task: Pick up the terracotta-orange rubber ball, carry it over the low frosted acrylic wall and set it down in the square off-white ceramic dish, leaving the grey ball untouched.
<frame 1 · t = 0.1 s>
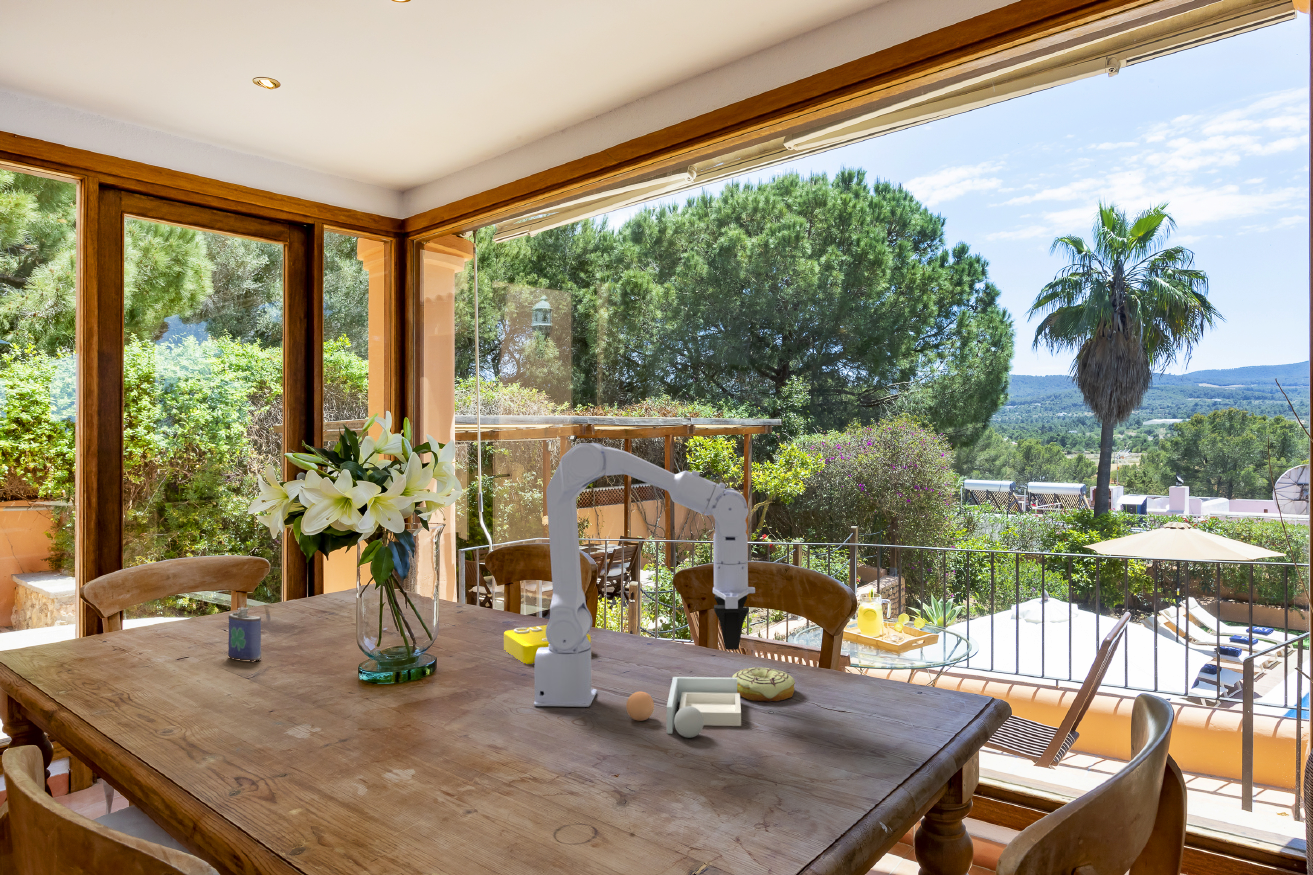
hand: (731, 642, 131), 10 cm above the table, tool pointing down, fingers open, 7 cm apart
decorated donut: (763, 695, 135), on the table
flask: (243, 659, 161), on the table
terracotta ball: (640, 719, 123), on the table
element tile: (547, 654, 164), on the table
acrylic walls: (672, 715, 125), resting in ceramic dish
ceramic dish: (710, 714, 125), on the table
grey ball: (689, 736, 116), on the table
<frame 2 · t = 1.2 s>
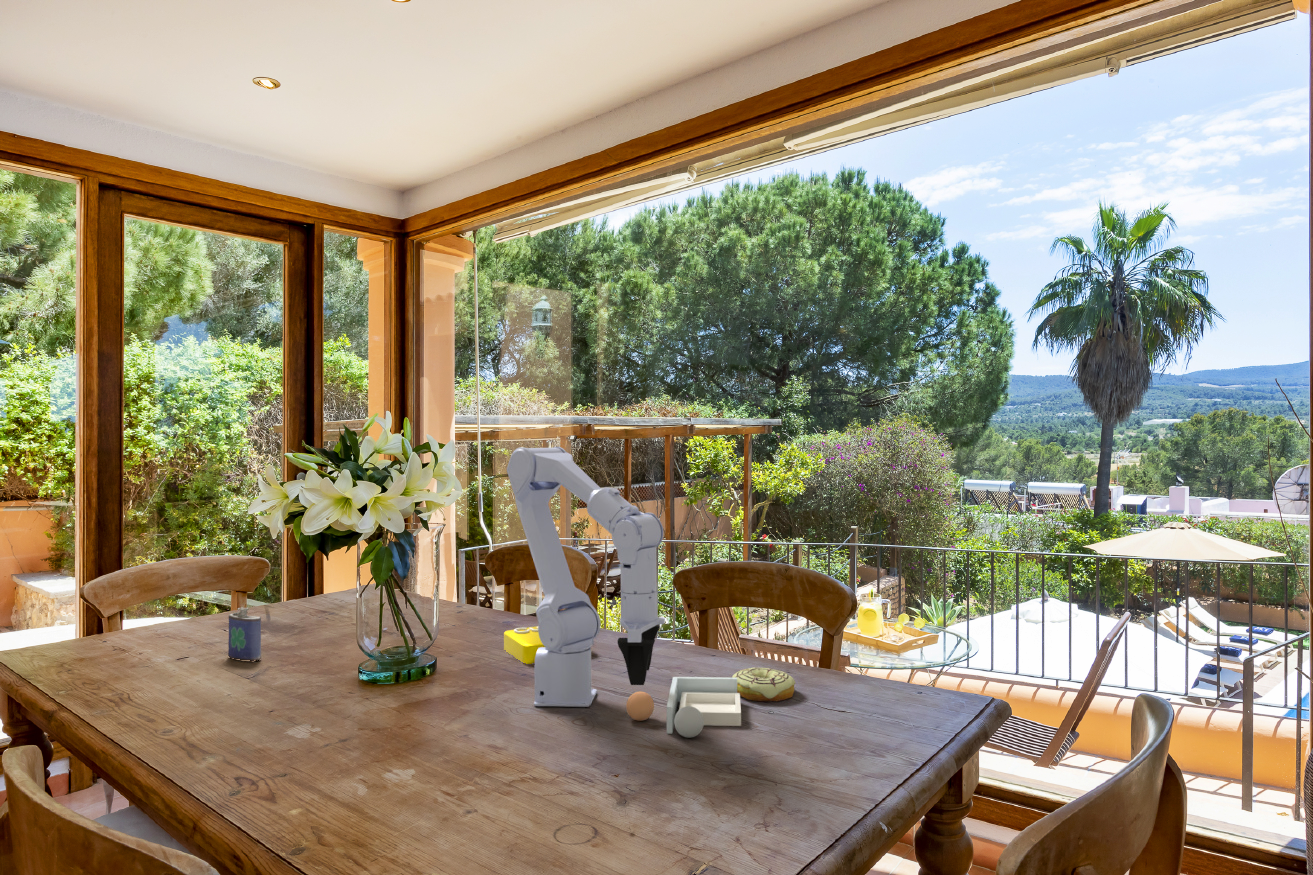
hand: (640, 676, 123), 7 cm above the table, tool pointing down, fingers open, 7 cm apart
nothing on the table moved.
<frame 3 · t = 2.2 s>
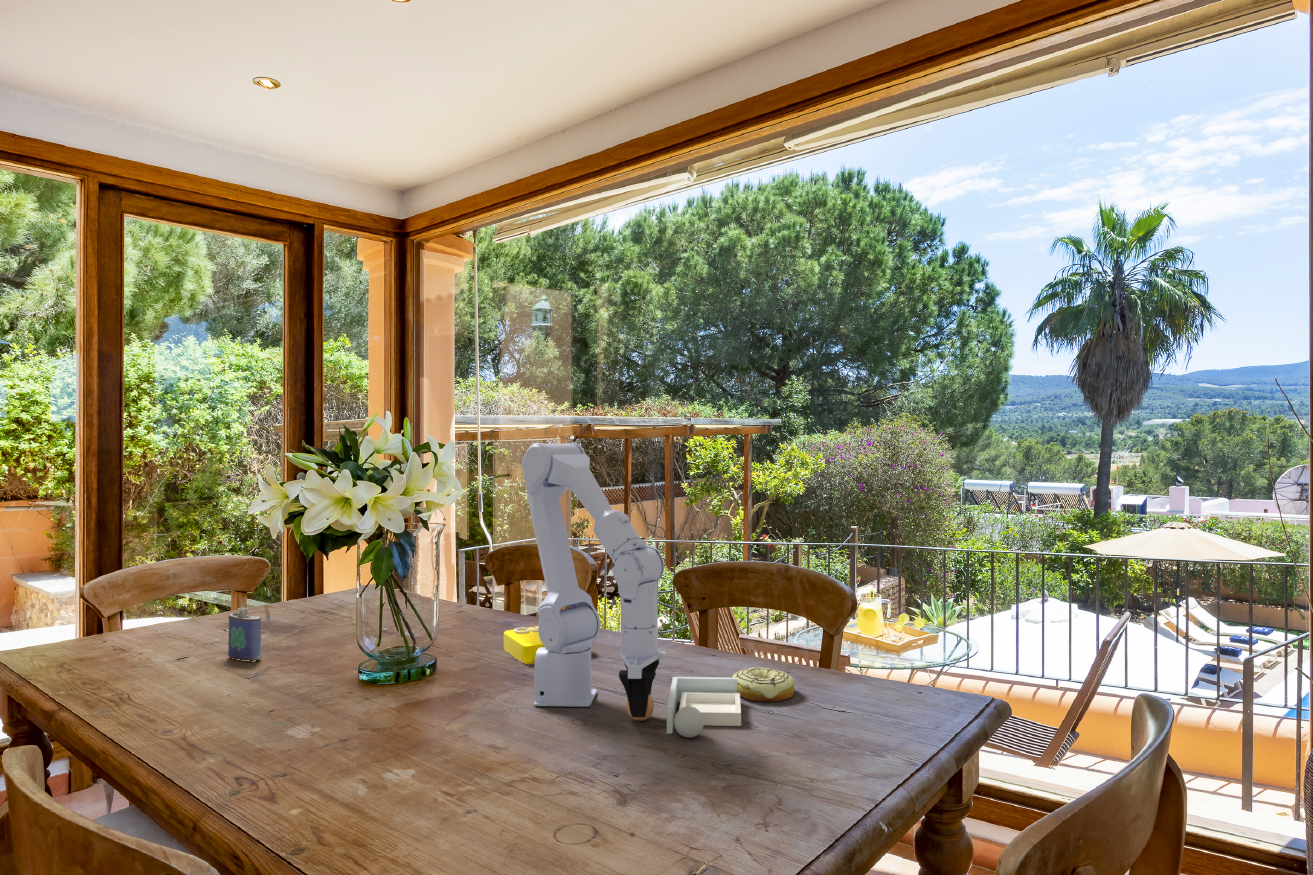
hand: (640, 710, 123), 1 cm above the table, tool pointing down, fingers closed on terracotta ball, 4 cm apart
terracotta ball: (640, 719, 123), on the table, touching gripper
everything else where it was.
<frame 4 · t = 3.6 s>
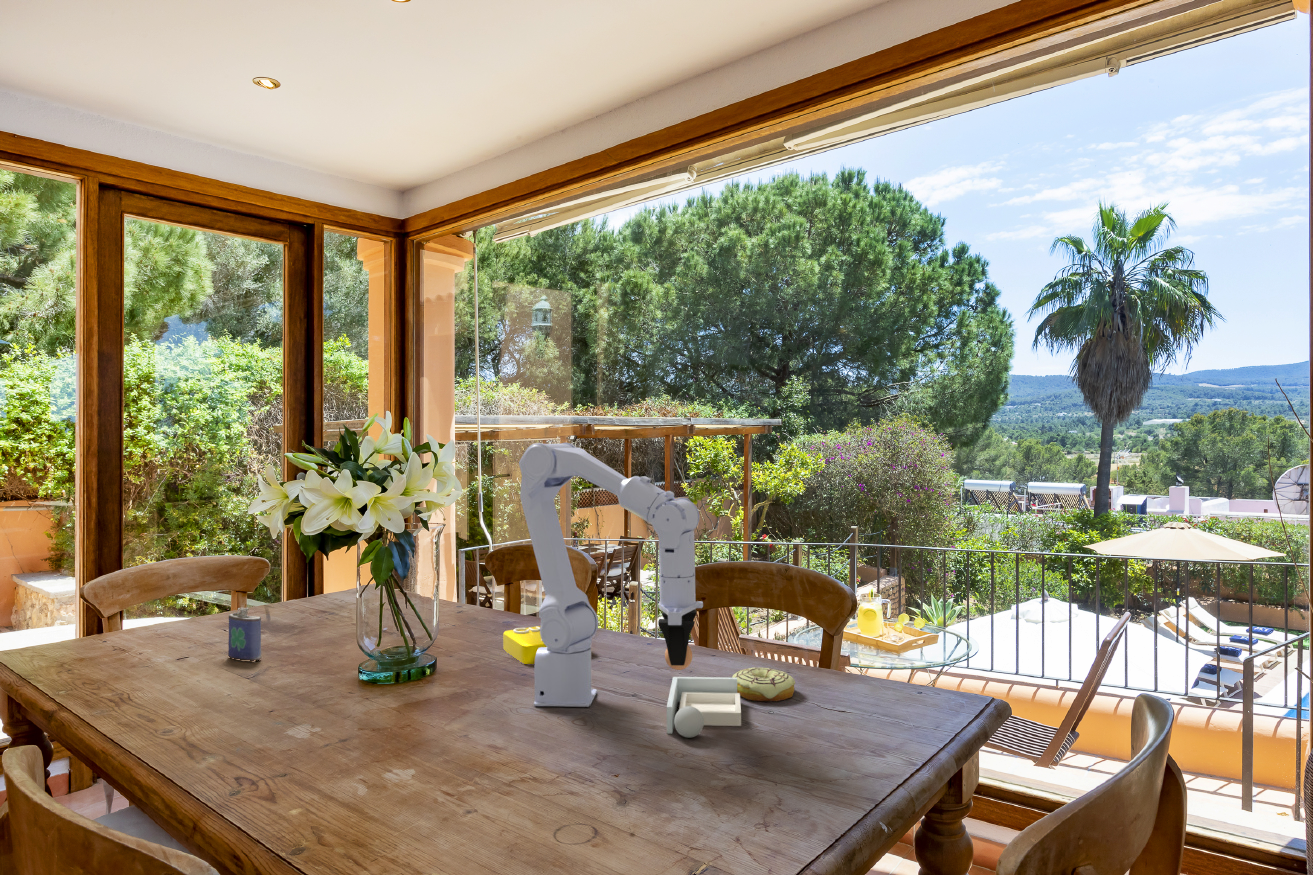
hand: (678, 660, 124), 9 cm above the table, tool pointing down, fingers closed on terracotta ball, 4 cm apart
terracotta ball: (678, 669, 124), point 8 cm above the table, touching gripper
everything else where it was.
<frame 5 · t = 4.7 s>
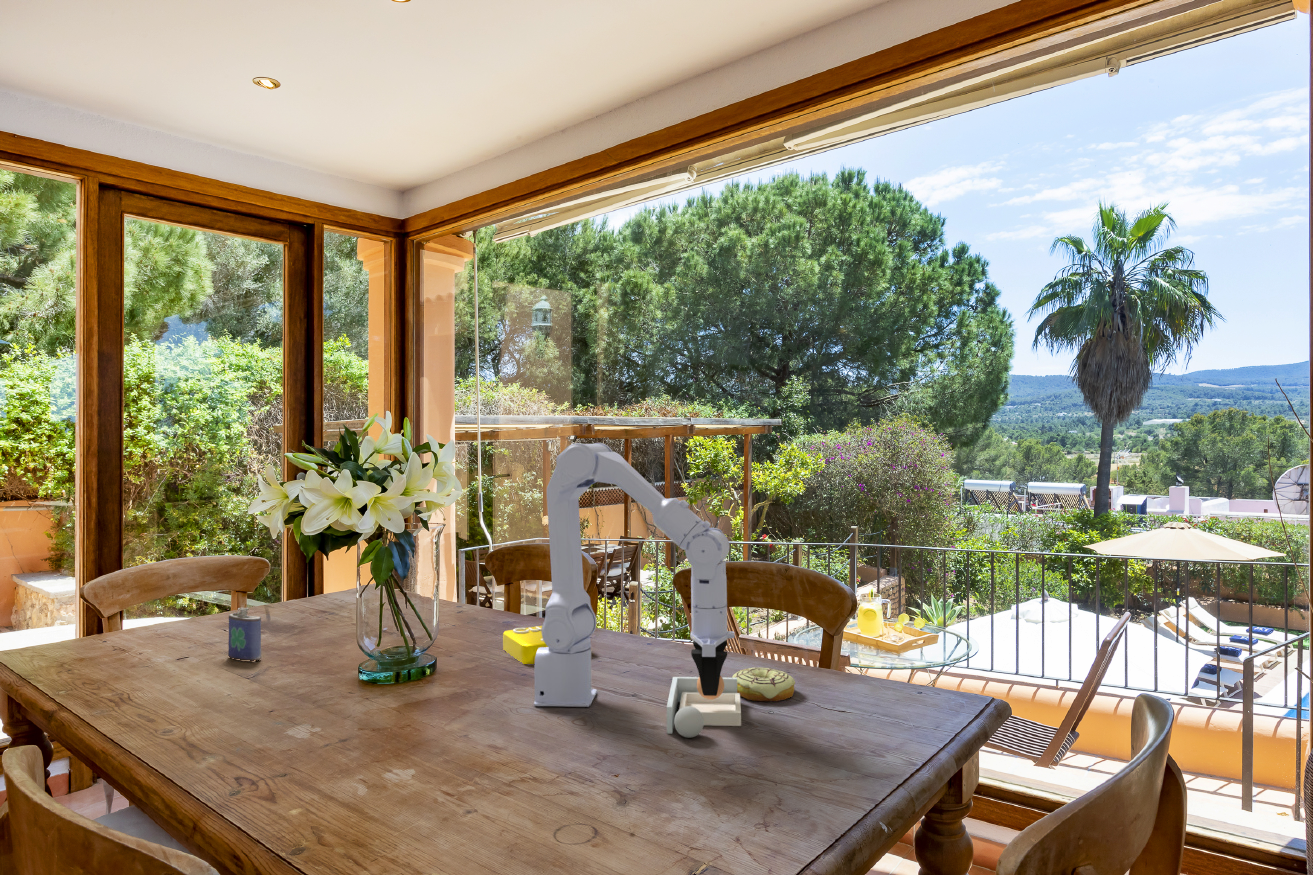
hand: (710, 689, 125), 4 cm above the table, tool pointing down, fingers closed on terracotta ball, 4 cm apart
terracotta ball: (710, 698, 125), point 3 cm above the table, touching gripper
everything else where it was.
when the fingers open (3 cm above the table, at t = 5.3 s): terracotta ball drops 1 cm, resting on ceramic dish.
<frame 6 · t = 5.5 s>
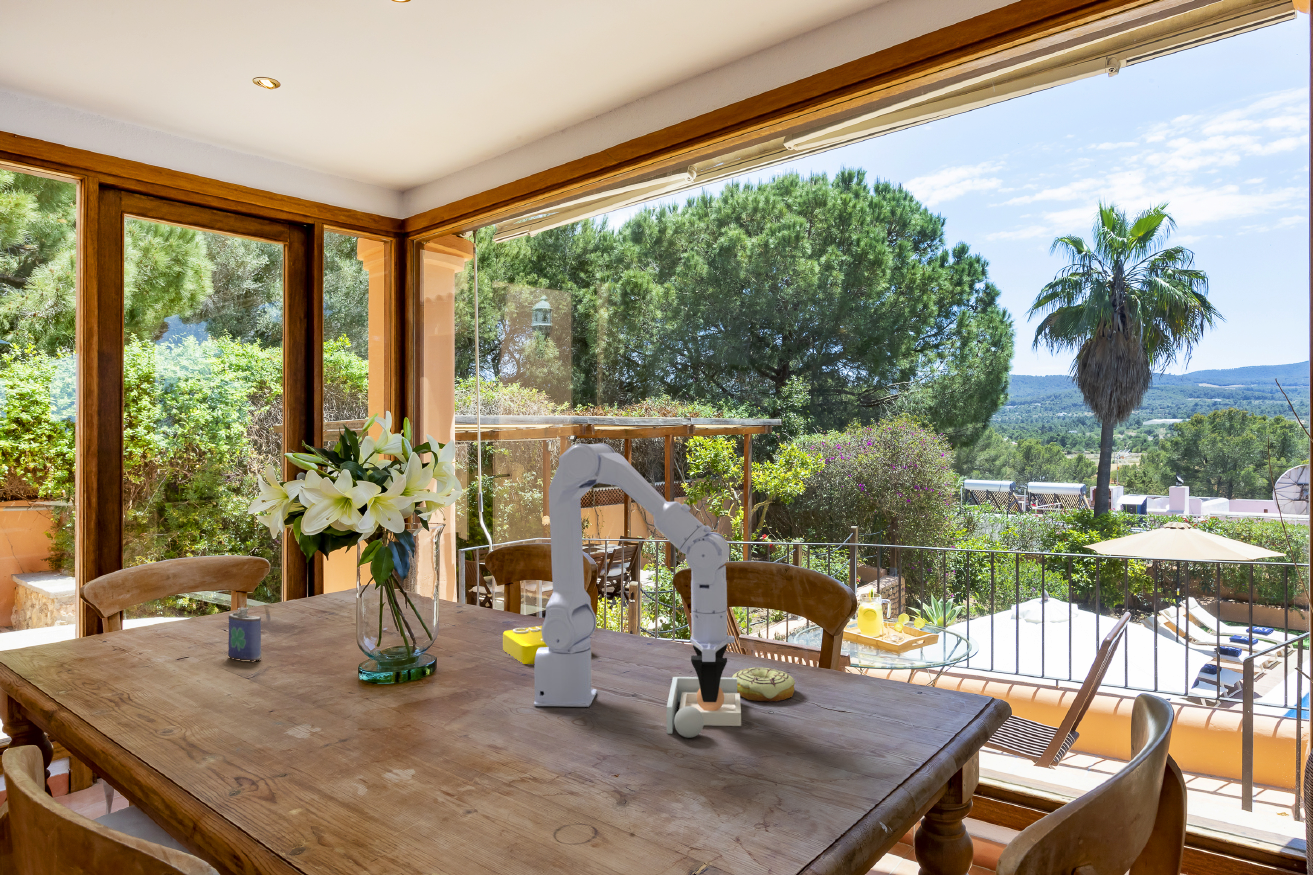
hand: (710, 694, 125), 3 cm above the table, tool pointing down, fingers open, 6 cm apart
terracotta ball: (710, 710, 125), point 1 cm above the table, touching ceramic dish
everything else where it was.
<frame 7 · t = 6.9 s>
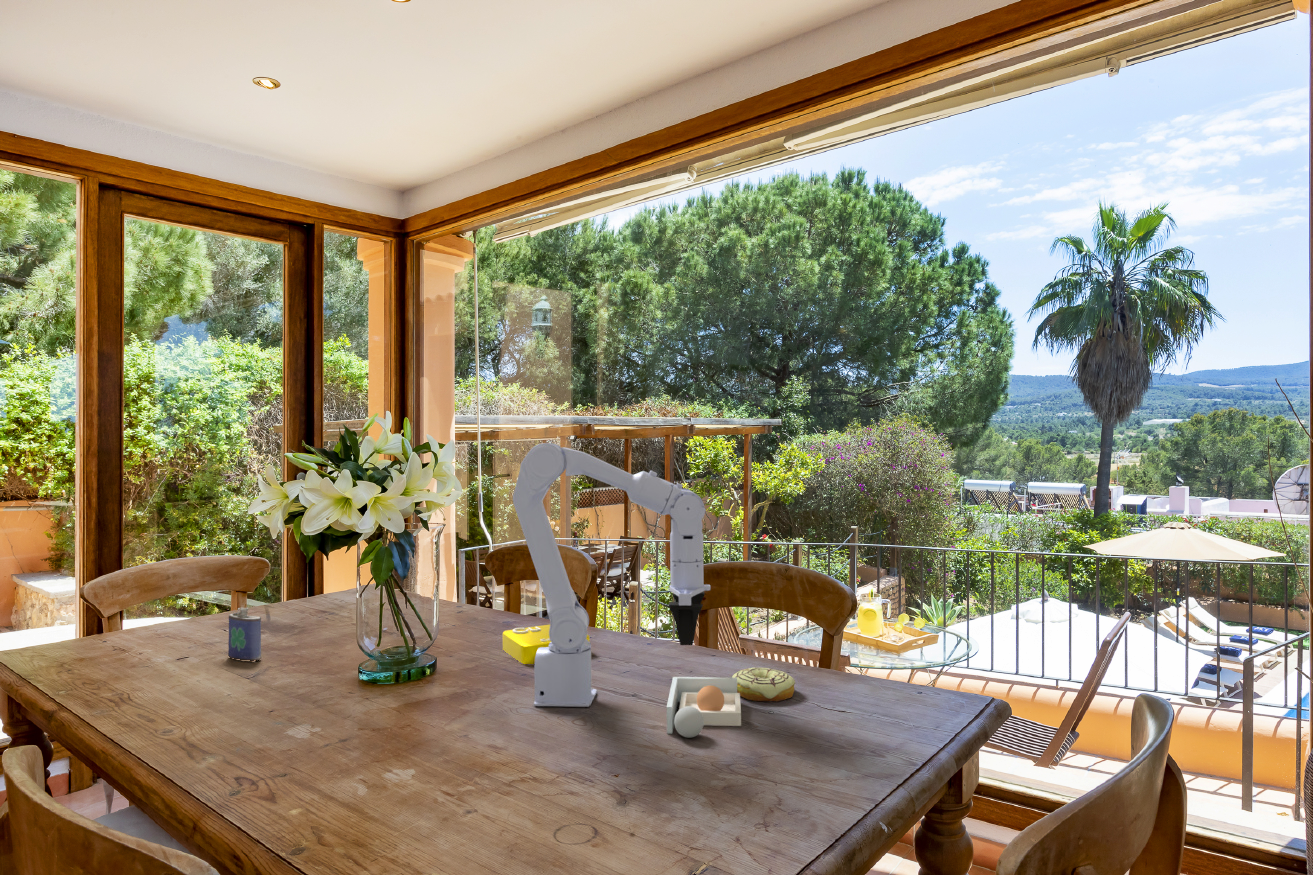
hand: (687, 638, 134), 10 cm above the table, tool pointing down, fingers open, 7 cm apart
terracotta ball: (710, 708, 125), point 1 cm above the table, tilted 36°, touching ceramic dish
everything else where it was.
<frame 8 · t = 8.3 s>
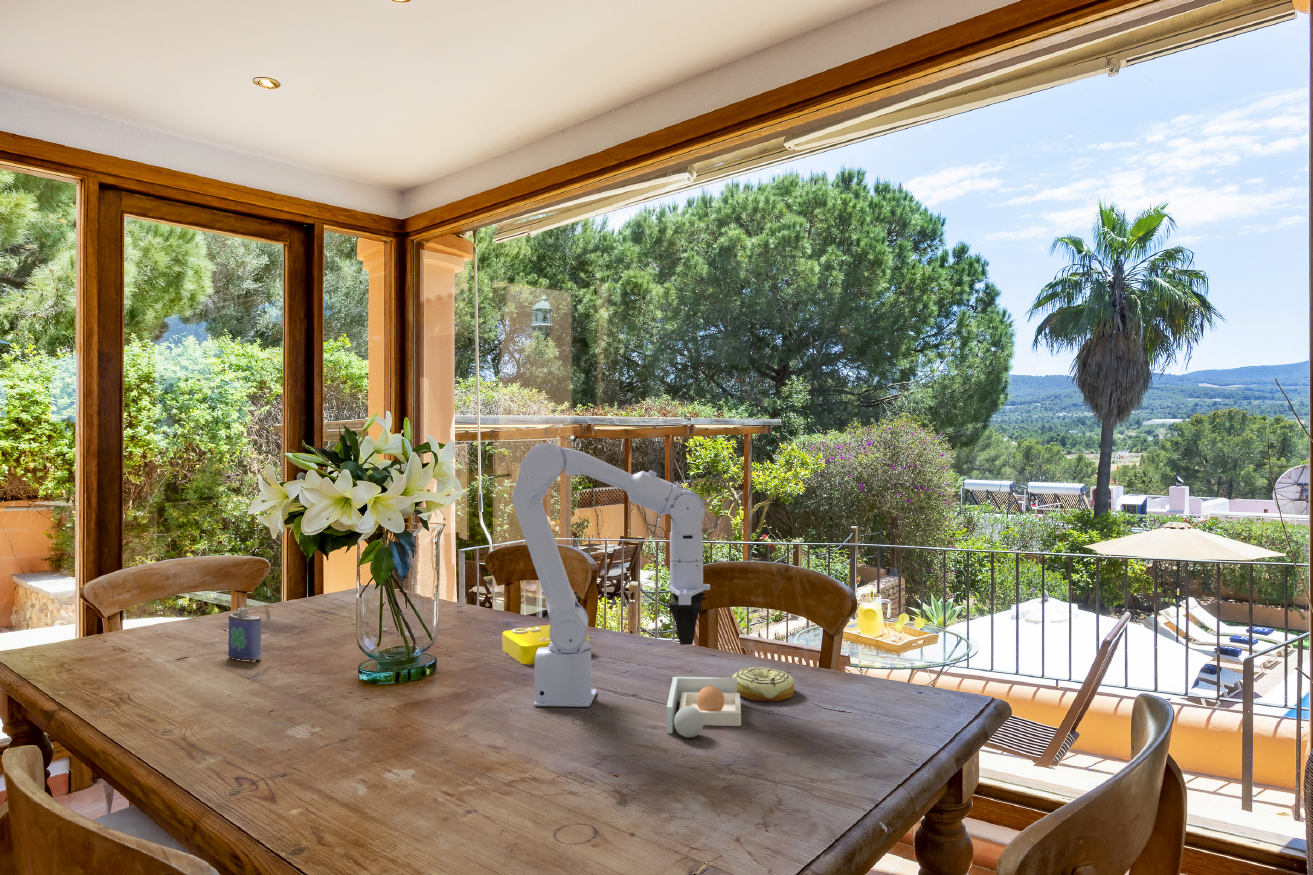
hand: (687, 638, 134), 10 cm above the table, tool pointing down, fingers open, 7 cm apart
terracotta ball: (710, 706, 125), point 1 cm above the table, tilted 46°, touching ceramic dish
everything else where it was.
at the end: terracotta ball inside the target area on the ceramic dish (0.2 cm from its centre), point 1.2 cm above the ceramic dish's base; the gripper is holding nothing; grey ball moved 0.0 cm from its start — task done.
